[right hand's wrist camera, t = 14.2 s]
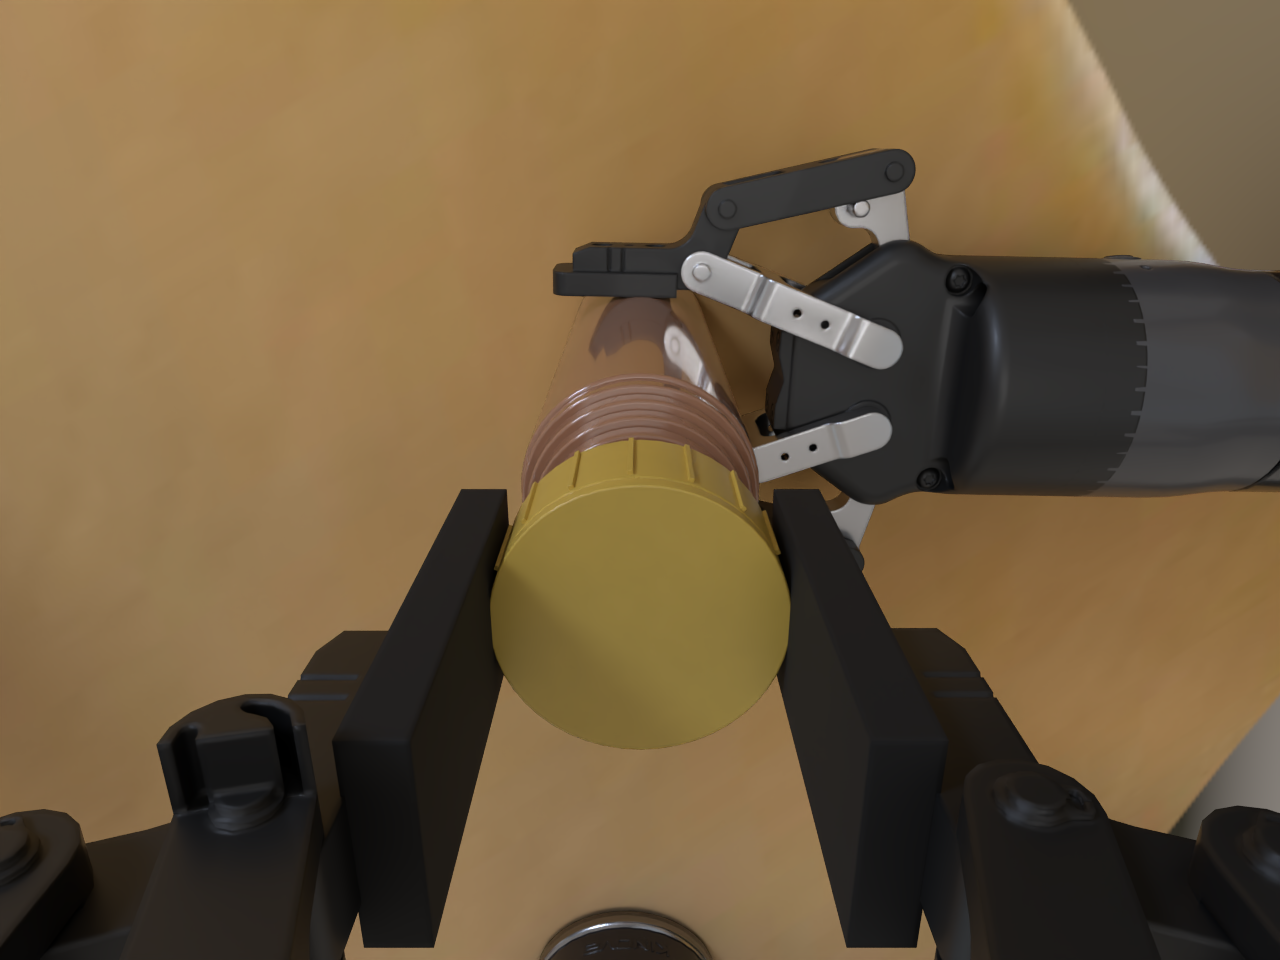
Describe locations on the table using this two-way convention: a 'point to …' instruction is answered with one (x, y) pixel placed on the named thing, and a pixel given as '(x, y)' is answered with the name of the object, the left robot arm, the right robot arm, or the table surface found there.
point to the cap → (640, 597)
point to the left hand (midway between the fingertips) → (558, 369)
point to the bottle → (640, 387)
